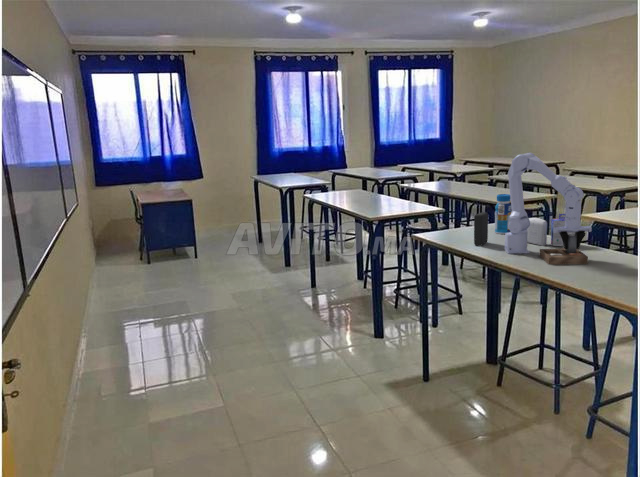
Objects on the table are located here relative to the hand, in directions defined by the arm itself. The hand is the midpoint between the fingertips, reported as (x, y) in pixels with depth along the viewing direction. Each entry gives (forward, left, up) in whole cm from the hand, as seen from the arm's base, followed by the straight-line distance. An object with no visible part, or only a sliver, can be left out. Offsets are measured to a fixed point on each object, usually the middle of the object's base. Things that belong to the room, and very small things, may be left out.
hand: (571, 248), depth 221 cm
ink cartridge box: (+4, +24, -4) cm, 24 cm away
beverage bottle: (-17, +53, -4) cm, 55 cm away
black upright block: (-32, +30, -4) cm, 44 cm away
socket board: (-4, -1, -4) cm, 6 cm away
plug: (0, 0, -2) cm, 2 cm away
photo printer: (-7, +28, -4) cm, 29 cm away
